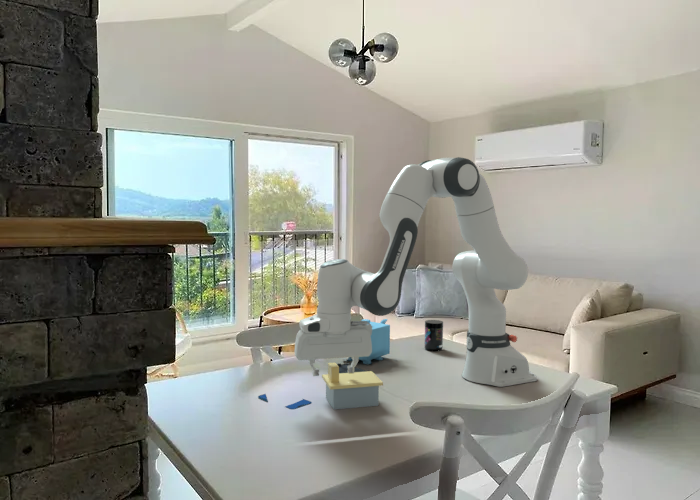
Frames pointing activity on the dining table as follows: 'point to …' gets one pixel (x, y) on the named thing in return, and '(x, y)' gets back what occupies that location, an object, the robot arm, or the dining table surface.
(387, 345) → the teapot
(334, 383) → the lid
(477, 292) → the robot arm
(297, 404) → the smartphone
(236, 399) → the dining table surface
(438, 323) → the supplement container
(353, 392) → the tub
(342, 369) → the electronic device
